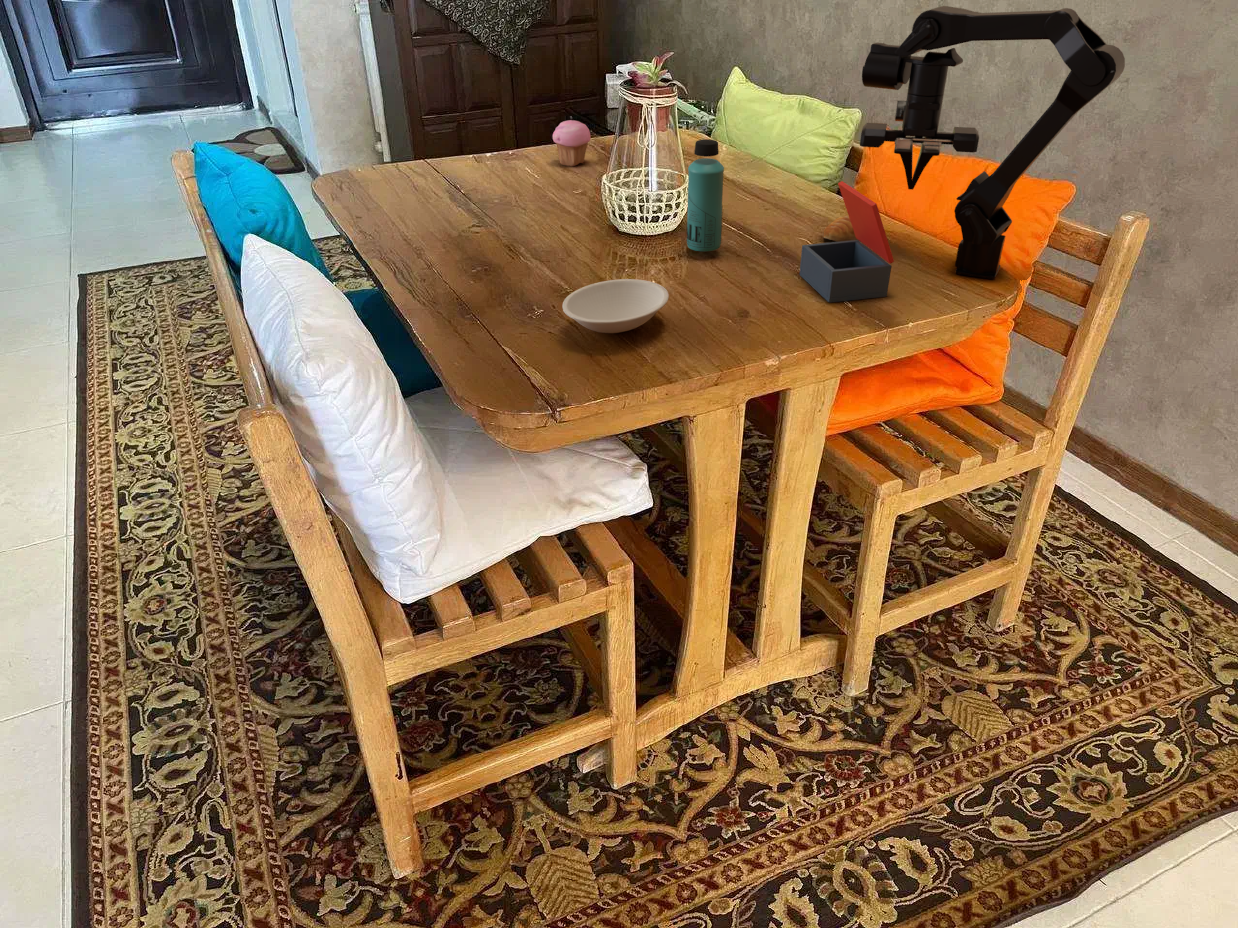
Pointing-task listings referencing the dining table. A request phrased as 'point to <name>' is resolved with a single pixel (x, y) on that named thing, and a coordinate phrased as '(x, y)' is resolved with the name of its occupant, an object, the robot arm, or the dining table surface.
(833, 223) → the pastry
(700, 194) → the beverage bottle
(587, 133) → the cupcake
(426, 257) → the dining table surface
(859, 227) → the lid
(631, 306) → the dish
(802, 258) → the lunchbox
